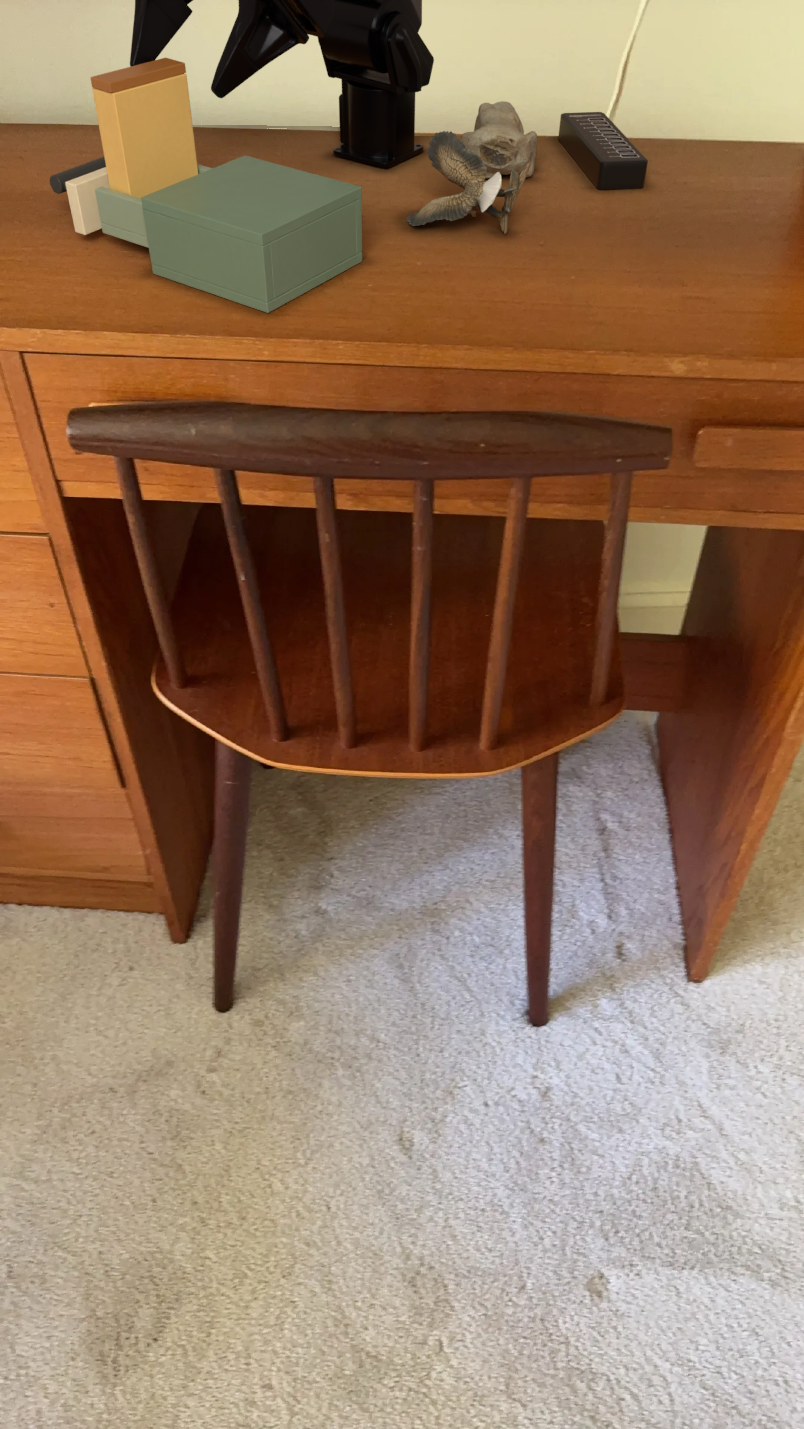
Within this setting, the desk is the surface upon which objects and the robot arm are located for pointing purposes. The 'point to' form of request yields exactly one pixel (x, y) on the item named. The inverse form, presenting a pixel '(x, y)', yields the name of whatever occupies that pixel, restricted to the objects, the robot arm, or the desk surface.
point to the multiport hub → (602, 151)
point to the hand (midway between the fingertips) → (174, 82)
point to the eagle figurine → (466, 184)
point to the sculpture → (501, 140)
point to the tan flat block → (145, 126)
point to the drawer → (102, 202)
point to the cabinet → (254, 231)
